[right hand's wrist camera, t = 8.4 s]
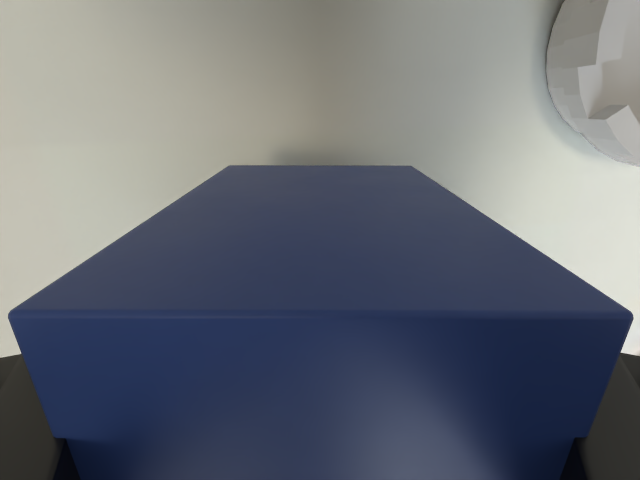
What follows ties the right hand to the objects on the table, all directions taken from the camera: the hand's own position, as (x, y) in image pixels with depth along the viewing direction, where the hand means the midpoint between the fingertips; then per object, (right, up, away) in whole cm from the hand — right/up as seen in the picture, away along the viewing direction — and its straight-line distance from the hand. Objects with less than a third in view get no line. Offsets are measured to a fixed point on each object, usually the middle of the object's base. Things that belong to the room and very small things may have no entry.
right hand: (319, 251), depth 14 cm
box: (0, -8, +5) cm, 10 cm away
